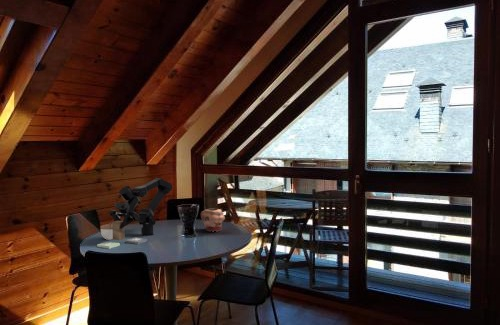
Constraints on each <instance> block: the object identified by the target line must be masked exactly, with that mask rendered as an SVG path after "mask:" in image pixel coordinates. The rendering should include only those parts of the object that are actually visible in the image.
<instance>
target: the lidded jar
mask: <svg viewBox="0 0 500 325" xmlns="http://www.w3.org/2000/svg"><path fill="white" fill-rule="evenodd" d="M100 234H101V236H102V237H103V238H104V240H105V239H106V240H105V241H113V228H112V222H109V223H107V224H103V225H100Z"/></svg>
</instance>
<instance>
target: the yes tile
mask: <svg viewBox="0 0 500 325" xmlns="http://www.w3.org/2000/svg"><path fill="white" fill-rule="evenodd" d="M119 246H121V244H120V242H114V241H105V242H102V243H98V244H96V247H98V248H103V249H109V250H110V249H113V248H116V247H119Z"/></svg>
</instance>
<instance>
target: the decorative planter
mask: <svg viewBox="0 0 500 325" xmlns="http://www.w3.org/2000/svg"><path fill="white" fill-rule="evenodd" d="M200 218H201V220H202V223H203V224H204V228H205V230H206V231H207V232H211V231H212V233H213V232H214V231H216V232H220V231H222V229H223V222H224V221H225V220H226V217H225V215H224V213H223V210H222V209H221V208H220V209H219V208H216V207H213V208H207V209H206V208H205V209H204V210H203V211H201V212H200ZM214 233H215V232H214Z"/></svg>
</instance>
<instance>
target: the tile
mask: <svg viewBox="0 0 500 325" xmlns="http://www.w3.org/2000/svg"><path fill="white" fill-rule="evenodd" d="M145 242H148V239H147V238H142V237H131V238H129V239H126V240H125V243H127V244H136V245H139V244H143V243H145Z"/></svg>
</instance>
